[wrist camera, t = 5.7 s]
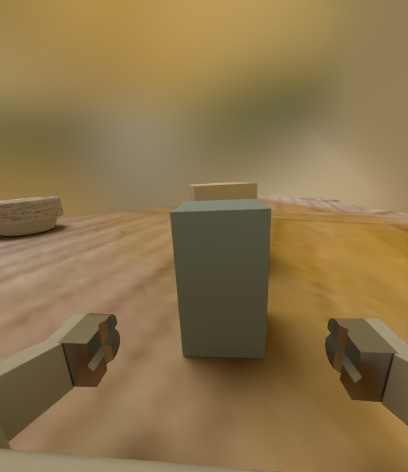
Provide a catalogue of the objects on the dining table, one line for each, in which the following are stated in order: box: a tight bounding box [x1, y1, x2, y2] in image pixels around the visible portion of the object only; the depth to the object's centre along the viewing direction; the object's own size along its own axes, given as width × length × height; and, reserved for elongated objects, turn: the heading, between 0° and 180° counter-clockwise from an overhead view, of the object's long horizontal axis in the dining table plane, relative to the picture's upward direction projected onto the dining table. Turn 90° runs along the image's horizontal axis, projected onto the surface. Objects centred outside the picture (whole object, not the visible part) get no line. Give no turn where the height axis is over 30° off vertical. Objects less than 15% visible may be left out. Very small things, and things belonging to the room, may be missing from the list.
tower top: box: [188, 182, 257, 201], centre depth 26 cm, size 7×7×5 cm
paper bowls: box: [0, 196, 63, 236], centre depth 50 cm, size 15×15×8 cm
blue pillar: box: [170, 199, 271, 358], centre depth 14 cm, size 5×5×9 cm
